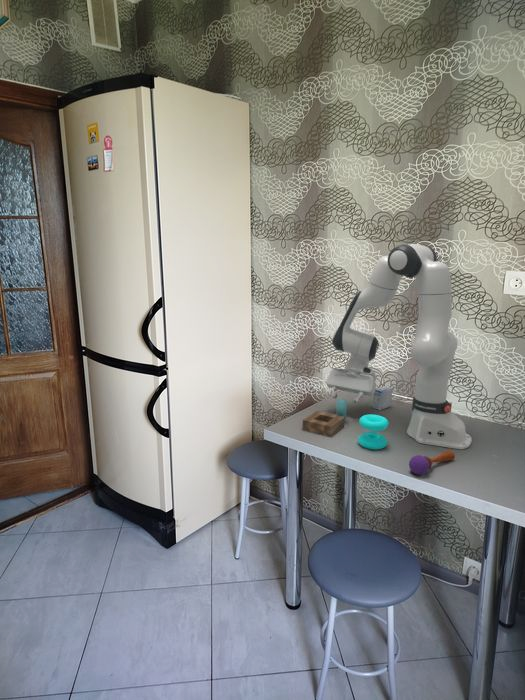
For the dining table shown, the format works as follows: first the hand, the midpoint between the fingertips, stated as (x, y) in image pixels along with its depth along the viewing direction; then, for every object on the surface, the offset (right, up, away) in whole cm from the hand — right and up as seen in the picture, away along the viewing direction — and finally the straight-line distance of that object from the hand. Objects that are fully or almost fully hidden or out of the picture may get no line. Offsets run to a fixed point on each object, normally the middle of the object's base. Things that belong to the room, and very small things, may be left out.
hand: (344, 400), depth 186 cm
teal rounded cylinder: (-2, -9, -1) cm, 9 cm away
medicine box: (+19, -5, +16) cm, 26 cm away
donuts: (+6, -14, -22) cm, 26 cm away
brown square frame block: (-10, -10, -8) cm, 16 cm away
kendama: (+21, -18, -38) cm, 47 cm away
